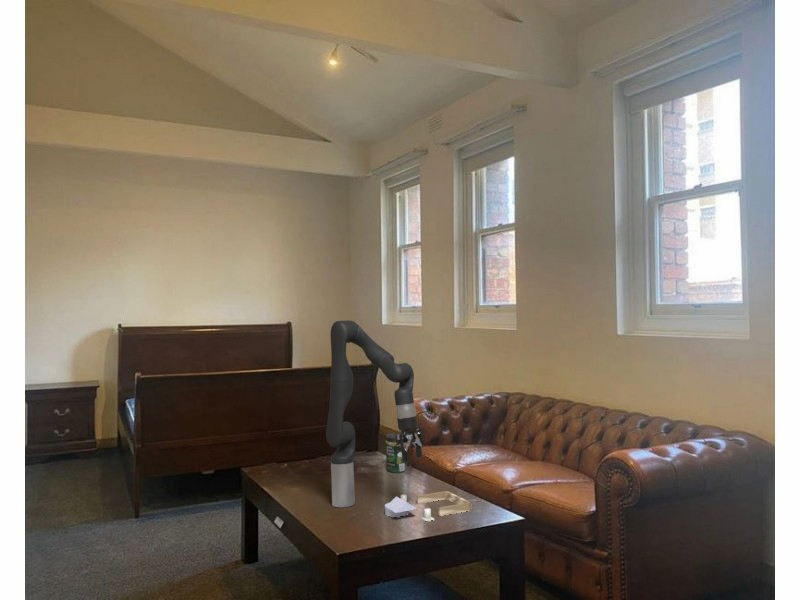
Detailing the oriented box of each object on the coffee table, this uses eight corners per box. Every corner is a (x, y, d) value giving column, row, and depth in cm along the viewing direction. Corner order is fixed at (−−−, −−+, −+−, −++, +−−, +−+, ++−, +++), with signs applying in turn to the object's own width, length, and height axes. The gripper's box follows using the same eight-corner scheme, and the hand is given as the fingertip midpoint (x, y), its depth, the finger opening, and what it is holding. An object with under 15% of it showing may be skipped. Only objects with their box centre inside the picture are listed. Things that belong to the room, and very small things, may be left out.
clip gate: (398, 504, 249) (397, 494, 250) (406, 503, 251) (405, 493, 251) (425, 521, 227) (425, 510, 227) (434, 520, 229) (434, 509, 229)
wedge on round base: (417, 517, 232) (402, 508, 244) (416, 499, 232) (401, 491, 244) (395, 522, 228) (381, 512, 240) (395, 503, 228) (380, 495, 240)
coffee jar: (383, 470, 306) (382, 433, 306) (396, 468, 310) (395, 431, 311) (394, 474, 298) (393, 435, 298) (408, 471, 302) (406, 433, 303)
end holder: (416, 503, 250) (416, 495, 250) (447, 498, 256) (447, 490, 256) (439, 516, 233) (439, 508, 233) (472, 510, 238) (471, 502, 239)
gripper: (409, 414, 241) (415, 455, 239) (387, 419, 230) (393, 463, 228) (425, 412, 237) (431, 455, 235) (403, 418, 225) (409, 463, 223)
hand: (412, 459), depth 231 cm, fingers open, 8 cm apart
